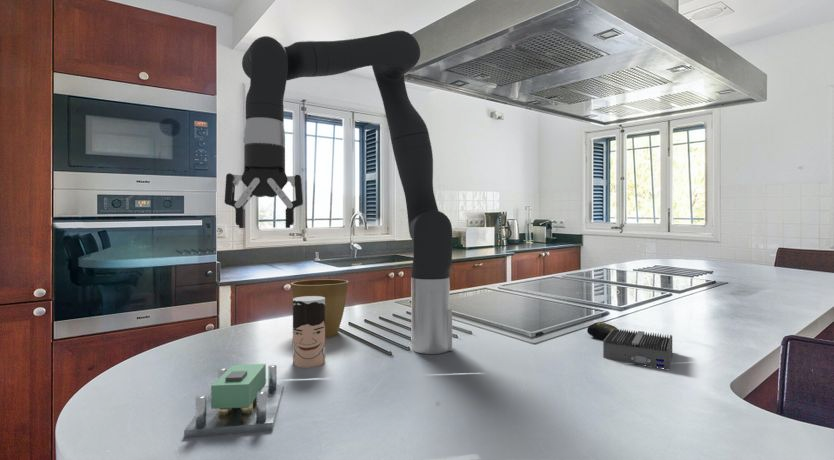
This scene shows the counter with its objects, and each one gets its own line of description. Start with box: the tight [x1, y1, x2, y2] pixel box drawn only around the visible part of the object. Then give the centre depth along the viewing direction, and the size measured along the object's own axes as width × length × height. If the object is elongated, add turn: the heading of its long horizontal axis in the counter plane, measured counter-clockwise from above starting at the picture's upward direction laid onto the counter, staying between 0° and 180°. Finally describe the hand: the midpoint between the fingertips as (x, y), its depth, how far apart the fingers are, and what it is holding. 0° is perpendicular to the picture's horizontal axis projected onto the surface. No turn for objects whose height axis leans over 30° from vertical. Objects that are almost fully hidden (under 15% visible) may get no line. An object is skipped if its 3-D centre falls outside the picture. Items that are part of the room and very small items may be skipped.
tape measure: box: [586, 322, 619, 341], centre depth 114 cm, size 7×7×4 cm
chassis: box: [183, 364, 285, 439], centre depth 70 cm, size 16×12×5 cm
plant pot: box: [290, 278, 350, 339], centre depth 114 cm, size 15×15×16 cm
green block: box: [210, 363, 267, 409], centre depth 70 cm, size 10×6×4 cm, turn 6°
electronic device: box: [602, 328, 673, 370], centre depth 100 cm, size 13×15×5 cm
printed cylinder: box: [292, 296, 326, 368], centre depth 92 cm, size 7×7×15 cm
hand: (265, 228), depth 83 cm, fingers open, 8 cm apart
